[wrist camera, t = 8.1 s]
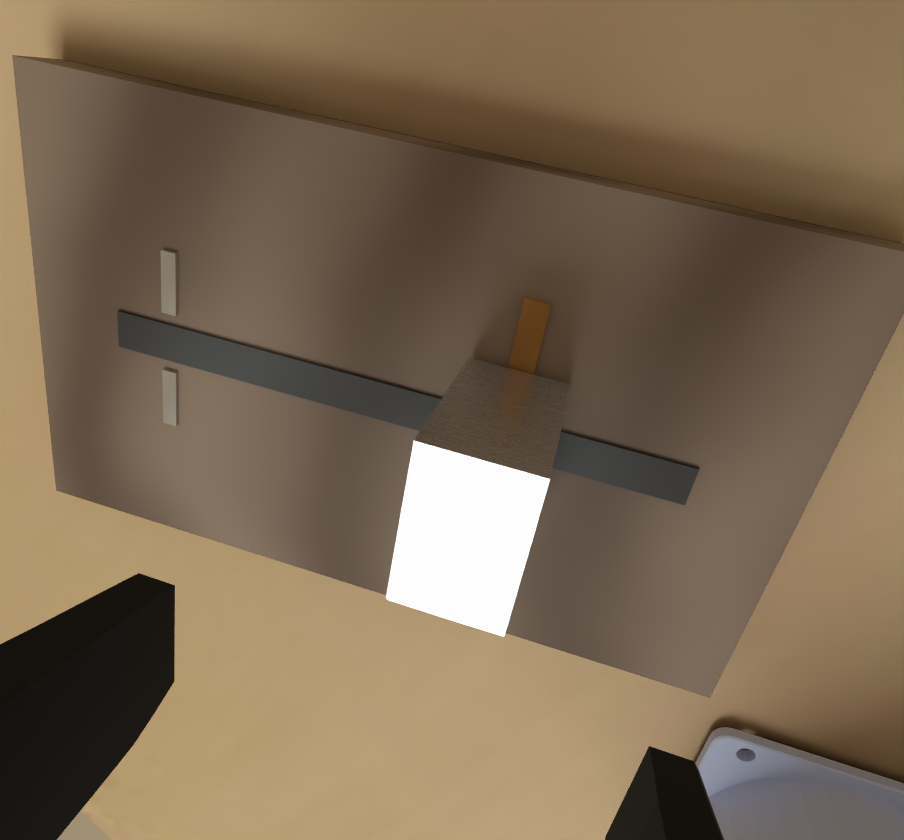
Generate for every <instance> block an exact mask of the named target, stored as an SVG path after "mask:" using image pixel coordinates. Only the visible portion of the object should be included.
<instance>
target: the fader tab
mask: <svg viewBox="0 0 904 840" xmlns="http://www.w3.org/2000/svg"><path fill="white" fill-rule="evenodd" d="M570 389H571V384H567V383H564V382H560V381H556V380H552V379H548V378H545V377H541V376H537V375H533V374H529V373H525V372H522V371H518V370H514V369H510V368H506V367H503V366H499V365H495V364H491V363H487V362H484V361H480V360H476V359H472V358H468V360H467V361H466V363H465V364H464V366H463V367H462V369H461V370H460V372H459V373H458V375H457V376H456V378H455V379H454V381H453V382H452V384H451V385H450V387H449V388H448V390H447V391H446V393H445V394H444V396H443V398H442V399H441V401H440V402H439V404H438V405H437V407H436V408H435V410H434V411H433V413H432V414H431V416H430V417H429V419H428V420H427V422H426V423H425V425H424V426H423V428H422V429H421V431H420V432H419V434H418V435H417V437H416V438H415V440H414V443H413V448H412V454H411V460H410V465H409V471H408V476H407V482H406V488H405V493H404V499H403V505H402V510H401V516H400V522H399V527H398V533H397V538H396V544H395V550H394V555H393V561H392V567H391V572H390V578H389V584H388V589H387V595H386V599H387V600H390V601H393V602H396V603H399V604H402V605H405V606H409V607H412V608H415V609H418V610H421V611H424V612H427V613H431V614H434V615H437V616H440V617H443V618H446V619H449V620H453V621H456V622H459V623H462V624H465V625H468V626H471V627H475V628H478V629H481V630H484V631H487V632H490V633H493V634H497V635H500V636H503V637H504V636H505V632H506V629H507V625H508V622H509V618H510V615H511V612H512V608H513V605H514V601H515V598H516V594H517V591H518V587H519V584H520V581H521V577H522V574H523V570H524V567H525V563H526V560H527V556H528V553H529V550H530V546H531V543H532V539H533V536H534V532H535V529H536V525H537V522H538V519H539V515H540V512H541V508H542V505H543V501H544V498H545V495H546V491H547V488H548V484H549V481H550V477H551V472H552V468H553V464H554V459H555V455H556V450H557V446H558V442H559V437H560V433H561V429H562V424H563V420H564V415H565V411H566V407H567V402H568V398H569V393H570Z"/></svg>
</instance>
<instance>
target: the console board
mask: <svg viewBox="0 0 904 840" xmlns="http://www.w3.org/2000/svg"><path fill="white" fill-rule="evenodd" d="M12 56H13V66H14V76H15V86H16V96H17V106H18V116H19V126H20V136H21V146H22V156H23V165H24V175H25V185H26V195H27V205H28V215H29V225H30V235H31V245H32V255H33V264H34V274H35V284H36V294H37V304H38V314H39V324H40V334H41V344H42V354H43V364H44V373H45V383H46V393H47V403H48V413H49V423H50V433H51V443H52V453H53V463H54V473H55V482H56V490H57V491H60V492H63V493H66V494H69V495H72V496H76V497H79V498H82V499H85V500H88V501H91V502H94V503H98V504H101V505H104V506H107V507H110V508H113V509H117V510H120V511H123V512H126V513H129V514H132V515H135V516H139V517H142V518H145V519H148V520H151V521H154V522H157V523H161V524H164V525H167V526H170V527H173V528H176V529H180V530H183V531H186V532H189V533H192V534H195V535H198V536H202V537H205V538H208V539H211V540H214V541H217V542H221V543H224V544H227V545H230V546H233V547H236V548H239V549H243V550H246V551H249V552H252V553H255V554H258V555H262V556H265V557H268V558H271V559H274V560H277V561H280V562H284V563H287V564H290V565H293V566H296V567H299V568H303V569H306V570H309V571H312V572H315V573H318V574H321V575H325V576H328V577H331V578H334V579H337V580H340V581H344V582H347V583H350V584H353V585H356V586H359V587H362V588H366V589H369V590H372V591H375V592H378V593H381V594H385V595H387V589H388V584H389V578H390V572H391V567H392V561H393V555H394V550H395V544H396V538H397V533H398V527H399V522H400V516H401V510H402V505H403V499H404V493H405V488H406V482H407V476H408V471H409V465H410V460H411V454H412V448H413V443H414V440H415V438H416V437H417V435H418V434H419V432H420V431H421V429H422V428H423V426H424V425H425V423H426V422H427V420H428V419H429V417H430V416H431V414H432V413H433V411H434V410H435V408H436V407H437V405H438V404H439V402H440V401H441V399H442V398H443V396H444V394H445V393H446V391H447V390H448V388H449V387H450V385H451V384H452V382H453V381H454V379H455V378H456V376H457V375H458V373H459V372H460V370H461V369H462V367H463V366H464V364H465V363H466V361H467V360H468V358H472V359H476V360H480V361H484V362H487V363H491V364H495V365H499V366H503V367H506V368H510V369H514V370H518V371H522V372H525V373H529V374H533V375H537V376H541V377H545V378H548V379H552V380H556V381H560V382H564V383H567V384H571V389H570V393H569V398H568V402H567V407H566V411H565V415H564V420H563V424H562V429H561V433H560V437H559V442H558V446H557V450H556V455H555V459H554V464H553V468H552V472H551V477H550V481H549V484H548V488H547V491H546V495H545V498H544V501H543V505H542V508H541V512H540V515H539V519H538V522H537V525H536V529H535V532H534V536H533V539H532V543H531V546H530V550H529V553H528V556H527V560H526V563H525V567H524V570H523V574H522V577H521V581H520V584H519V587H518V591H517V594H516V598H515V601H514V605H513V608H512V612H511V615H510V618H509V622H508V625H507V629H506V632H505V633H507V634H511V635H514V636H517V637H520V638H523V639H526V640H530V641H533V642H536V643H539V644H542V645H545V646H548V647H552V648H555V649H558V650H561V651H564V652H567V653H571V654H574V655H577V656H580V657H583V658H586V659H589V660H593V661H596V662H599V663H602V664H605V665H608V666H612V667H615V668H618V669H621V670H624V671H627V672H630V673H634V674H637V675H640V676H643V677H646V678H649V679H653V680H656V681H659V682H662V683H665V684H668V685H671V686H675V687H678V688H681V689H684V690H687V691H690V692H693V693H697V694H700V695H703V696H706V697H709V698H710V696H711V694H712V692H713V690H714V688H715V686H716V685H717V683H718V681H719V679H720V677H721V675H722V673H723V671H724V669H725V667H726V665H727V663H728V661H729V659H730V657H731V655H732V653H733V651H734V649H735V647H736V645H737V643H738V641H739V639H740V637H741V635H742V633H743V631H744V629H745V627H746V625H747V623H748V621H749V619H750V617H751V615H752V613H753V611H754V609H755V607H756V605H757V603H758V601H759V599H760V597H761V595H762V593H763V591H764V589H765V587H766V585H767V583H768V581H769V579H770V577H771V575H772V573H773V571H774V569H775V567H776V565H777V564H778V562H779V560H780V558H781V556H782V554H783V552H784V550H785V548H786V546H787V544H788V542H789V540H790V538H791V536H792V534H793V532H794V530H795V528H796V526H797V524H798V522H799V520H800V518H801V516H802V514H803V512H804V510H805V508H806V506H807V504H808V502H809V500H810V498H811V496H812V494H813V492H814V490H815V488H816V486H817V484H818V482H819V480H820V478H821V476H822V474H823V472H824V470H825V468H826V466H827V464H828V462H829V460H830V458H831V456H832V454H833V452H834V450H835V448H836V446H837V444H838V442H839V441H840V439H841V437H842V435H843V433H844V431H845V429H846V427H847V425H848V423H849V421H850V419H851V417H852V415H853V413H854V411H855V409H856V407H857V405H858V403H859V401H860V399H861V397H862V395H863V393H864V391H865V389H866V387H867V385H868V383H869V381H870V379H871V377H872V375H873V373H874V371H875V369H876V367H877V365H878V363H879V361H880V359H881V357H882V355H883V353H884V351H885V349H886V347H887V345H888V343H889V341H890V339H891V337H892V335H893V333H894V331H895V329H896V327H897V325H898V323H899V321H900V319H901V318H902V316H903V314H904V244H902V243H897V242H893V241H888V240H883V239H879V238H874V237H870V236H865V235H861V234H856V233H851V232H847V231H842V230H838V229H833V228H829V227H824V226H819V225H815V224H810V223H806V222H801V221H797V220H792V219H788V218H783V217H778V216H774V215H769V214H765V213H760V212H756V211H751V210H746V209H742V208H737V207H733V206H728V205H724V204H719V203H714V202H710V201H705V200H701V199H696V198H692V197H687V196H682V195H678V194H673V193H669V192H664V191H660V190H655V189H650V188H646V187H641V186H637V185H632V184H628V183H623V182H618V181H614V180H609V179H605V178H600V177H596V176H591V175H587V174H582V173H577V172H573V171H568V170H564V169H559V168H555V167H550V166H545V165H541V164H536V163H532V162H527V161H523V160H518V159H513V158H509V157H504V156H500V155H495V154H491V153H486V152H481V151H477V150H472V149H468V148H463V147H459V146H454V145H449V144H445V143H440V142H436V141H431V140H427V139H422V138H418V137H413V136H408V135H404V134H399V133H395V132H390V131H386V130H381V129H376V128H372V127H367V126H363V125H358V124H354V123H349V122H344V121H340V120H335V119H331V118H326V117H322V116H317V115H312V114H308V113H303V112H299V111H294V110H290V109H285V108H280V107H276V106H271V105H267V104H262V103H258V102H253V101H248V100H244V99H239V98H235V97H230V96H226V95H221V94H217V93H212V92H207V91H203V90H198V89H194V88H189V87H185V86H180V85H175V84H171V83H166V82H162V81H157V80H153V79H148V78H143V77H139V76H134V75H130V74H125V73H121V72H116V71H111V70H107V69H102V68H98V67H93V66H89V65H84V64H79V63H75V62H70V61H66V60H61V59H49V58H37V57H26V56H14V55H12Z"/></svg>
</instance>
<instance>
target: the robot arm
mask: <svg viewBox="0 0 904 840" xmlns="http://www.w3.org/2000/svg"><path fill="white" fill-rule="evenodd" d="M174 626H175V585H172V584H169V583H166V582H163V581H160V580H157V579H154V578H151V577H148V576H145V575H142V574H139V573H138V574H137V575H135V576H133V577H131V578H129V579H127V580H125V581H123V582H121V583H119V584H117V585H115V586H113V587H111V588H109V589H107V590H105V591H103V592H101V593H99V594H97V595H95V596H94V597H92V598H90V599H88V600H86V601H84V602H82V603H80V604H78V605H76V606H74V607H72V608H71V609H69V610H67V611H65V612H63V613H61V614H59V615H57V616H55V617H53V618H51V619H49V620H47V621H46V622H44V623H42V624H40V625H38V626H36V627H34V628H32V629H30V630H28V631H26V632H24V633H22V634H20V635H18V636H16V637H14V638H12V639H10V640H8V641H6V642H4V643H2V644H0V840H57V838H58V837H59V836H60V835H61V834H62V832H63V831H64V830H65V829H66V827H67V826H68V825H69V824H70V822H71V821H72V820H73V819H74V817H75V816H76V815H77V814H78V812H80V810H81V809H82V808H83V807H84V805H85V804H86V803H87V802H88V801H89V799H90V798H91V797H92V796H93V794H94V793H95V792H96V791H97V790H98V788H99V787H100V786H101V785H102V783H103V782H104V781H105V780H106V778H107V777H108V776H109V775H110V773H111V772H112V771H113V770H114V768H115V767H116V766H117V765H118V763H119V762H120V761H121V760H122V758H123V757H124V756H125V755H126V753H127V752H128V751H129V750H130V748H131V747H132V746H133V745H134V743H135V742H136V740H137V739H138V737H139V736H140V734H141V733H142V731H143V730H144V728H145V727H146V725H147V724H148V722H149V721H150V719H151V717H152V716H153V714H154V713H155V711H156V710H157V708H158V706H159V705H160V703H161V702H162V700H163V698H164V697H165V695H166V694H167V692H168V690H169V689H170V687H171V686H172V684H173V683H174ZM743 748H746V749H750V750H740V749H743ZM605 840H904V783H901V782H898V781H895V780H892V779H889V778H886V777H883V776H880V775H877V774H873V773H870V772H867V771H864V770H861V769H858V768H855V767H852V766H849V765H845V764H842V763H839V762H836V761H833V760H830V759H827V758H824V757H821V756H818V755H814V754H811V753H808V752H805V751H802V750H799V749H796V748H793V747H790V746H786V745H783V744H780V743H777V742H774V741H771V740H768V739H765V738H762V737H758V736H755V735H752V734H749V733H746V732H743V731H740V730H737V729H734V728H729V727H722V728H718V729H716V730H714V731H713V732H712V733H711V734H710V736H709V738H708V739H707V741H706V743H705V745H704V747H703V749H702V751H701V753H700V755H699V757H698V759H697V761H696V762H694V761H691V760H688V759H685V758H682V757H679V756H676V755H673V754H670V753H667V752H664V751H662V750H659V749H656V748H653V747H650V746H649V748H648V750H647V752H646V754H645V756H644V758H643V760H642V762H641V764H640V766H639V768H638V771H637V773H636V775H635V777H634V779H633V781H632V783H631V785H630V787H629V789H628V791H627V793H626V795H625V797H624V800H623V802H622V804H621V806H620V808H619V810H618V812H617V814H616V816H615V818H614V820H613V822H612V824H611V827H610V829H609V831H608V833H607V835H606V838H605Z"/></svg>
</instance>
